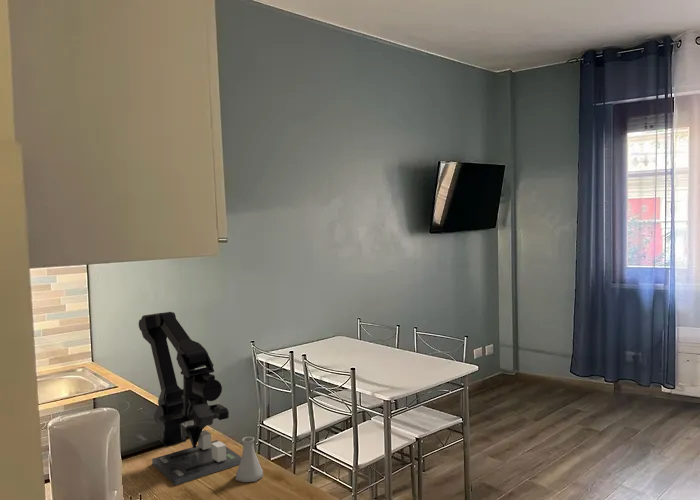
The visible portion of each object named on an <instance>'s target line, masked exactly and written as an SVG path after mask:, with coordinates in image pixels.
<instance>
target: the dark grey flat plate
mask: <svg viewBox="0 0 700 500" xmlns="http://www.w3.org/2000/svg"><path fill="white" fill-rule="evenodd" d="M215 442H218V440H216V439H215V440H213V441H212V440H211V448H208V449H205V450H203V449H201V448H200V447H199V446H198V445H196V448H193V446H192V447H188V448H185V449H181V450H178V451H175V452H171V453H168V454H164V455H160V456H157V457H154V458H151V465H152V466H154V467H155V468H156V469H157V470H158V471H159V472H160V473H161V474H162V475H163V476H164V477H166V478H167V479H168V481H170V482H171V483H172V484H173V485H174V486H179V485H181V484H184V483H187V482H190V481H193V480H196V479H201V478H202V477H206V476H209V475H211V474H214V473H217V472H220V471H223V470H227V469H230V468H233V467H236V466H239V464H240V461H241V458H242V455H239V454H237V453H236V452H235V451H234V450H232V449H230V448H229V447H227V446H226V460H224V461H220V462H217V461H216V460H214V459H213V458H212V443H215Z"/></svg>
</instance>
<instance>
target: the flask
mask: <svg viewBox="0 0 700 500" xmlns="http://www.w3.org/2000/svg"><path fill="white" fill-rule="evenodd" d="M241 443H242V444H243V446H242V447H243V449H242V455H241V457H242V458H241V461H240V464H239V465H238V468H237V471H236V474H235V481H238V482H242V483H249V482H250V483H251V482H257V481H258V480H260V479H262V478H264V477H263V476H264V470H263V468H262V466H261V464H260V461H259V459H258V456H257V453H256V451H255V446H254V443H255V437H254V436H245V437H243V438H242V439H241Z"/></svg>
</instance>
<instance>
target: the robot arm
mask: <svg viewBox="0 0 700 500" xmlns="http://www.w3.org/2000/svg"><path fill="white" fill-rule="evenodd" d="M138 328H139V331H140V332H141V336H142V338H143V339H145V341H146V342H147V343H148V344H149V345H150V347H151V348H150V349H151V353H152V357H153V360H154V365H155V370H156V374H157V377H158V382H159V387H160V390H161V391H160V394H159V396H158V400H157V404H158V407H157V409H156V410H155V412H154V414H153V419H154V422H155V423H156V424H157V427H158V428H159V429H160V430H161V437H158V441H159V442H160V443H162V444H163V445H164V446H165V447H168V446H171V445H175V444H178V443H183V442H186V441H188V440H187V437H185V436H184V435H183V429H184V430H185V432H186V434H187V436H188V439H189V440H190V444H191V445H192V447H193V448H196V446H198V439H199V436H200V434H201V432H202V431H204V430H203V429H205V428H206V427H207V426H212V424H214V420H215V419H217V420H219V421H222V420H226V419H229V417H230V415H229V414H230V411H229V409H228V408H227V407H226V406H223V404H220V403H219V404H218V403H216V404H209V403H208V402H214V401H217V399H218V398H220V396H221V394H222V391H223V385H222V384H221V382H220V381H219V380H217V379H216V377H215V374H211V373H215V370H214V366H215V365H214V363H213V362H212V359H211V357H210V356H209V353H208V351H207V350H206V349H205V347H204V346H203V345H202V344H201V343H200V342H199V341H195V340H192V339H191V337H190V336H189V335H188V334H187V332H186V330H185V329H184V327H183V325H181V323H180V322H179V320H178V319H177V317H176V313H175V312H172V311H167V312H158V313H151V314H145V315H144V314H143V315H142V317H141V318H140V319H139V321H138ZM168 341H169V342H170V343H171V345H172V346H173V348H174V350H175V351H176V352H177V353H176V361H177V364H178V367H179V368H180V370H181V371H180V375H182V376H183V377H182V379H183V384H182V385H183V388H181V387H180V386H179V385H178V381H177V377H176V373H175V370H174V365H173V361H172V356H171V353H170V348H169V344H168Z"/></svg>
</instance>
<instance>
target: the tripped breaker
mask: <svg viewBox="0 0 700 500" xmlns="http://www.w3.org/2000/svg"><path fill="white" fill-rule="evenodd" d="M211 442H212V434H211V433H210V432H209V431H207V430H205V429H204V430H202V432H201V434H200V436H199V439H198V442H197V446H199V447H200V448H201V449H203V450H205V449H208V448H211Z"/></svg>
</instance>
